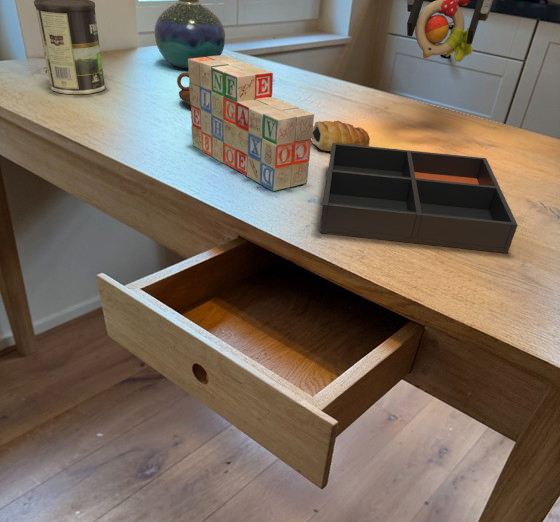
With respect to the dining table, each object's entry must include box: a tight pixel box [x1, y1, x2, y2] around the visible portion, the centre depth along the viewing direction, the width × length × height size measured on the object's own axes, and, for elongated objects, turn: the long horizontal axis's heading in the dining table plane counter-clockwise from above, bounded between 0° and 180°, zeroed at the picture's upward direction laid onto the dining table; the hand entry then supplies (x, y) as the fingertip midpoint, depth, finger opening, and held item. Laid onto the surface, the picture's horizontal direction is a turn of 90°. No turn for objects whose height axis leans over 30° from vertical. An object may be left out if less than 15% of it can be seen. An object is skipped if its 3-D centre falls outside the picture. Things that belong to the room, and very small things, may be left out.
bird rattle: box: [414, 0, 474, 63], centre depth 84 cm, size 6×11×9 cm
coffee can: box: [33, 0, 106, 95], centre depth 104 cm, size 10×10×14 cm
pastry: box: [311, 120, 371, 152], centre depth 90 cm, size 9×7×4 cm
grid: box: [319, 143, 518, 254], centre depth 74 cm, size 22×22×4 cm
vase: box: [154, 0, 226, 70], centre depth 124 cm, size 15×15×13 cm
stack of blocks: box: [187, 54, 315, 192], centre depth 79 cm, size 21×6×12 cm, turn 37°
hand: (439, 33), depth 83 cm, fingers closed on bird rattle, 8 cm apart
